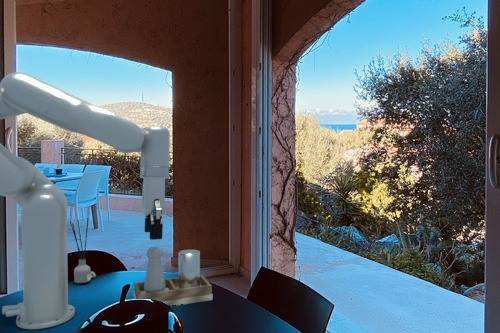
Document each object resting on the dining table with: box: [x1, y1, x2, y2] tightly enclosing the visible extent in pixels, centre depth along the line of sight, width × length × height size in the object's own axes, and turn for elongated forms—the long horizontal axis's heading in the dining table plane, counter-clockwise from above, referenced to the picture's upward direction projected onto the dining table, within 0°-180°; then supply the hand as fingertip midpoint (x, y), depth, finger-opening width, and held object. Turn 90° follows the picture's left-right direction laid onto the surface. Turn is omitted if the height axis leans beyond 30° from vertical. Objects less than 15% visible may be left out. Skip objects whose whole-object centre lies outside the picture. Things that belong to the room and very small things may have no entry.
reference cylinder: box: [177, 249, 201, 289], centre depth 106 cm, size 6×6×11 cm
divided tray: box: [132, 273, 214, 307], centre depth 104 cm, size 20×11×4 cm, turn 113°
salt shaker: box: [144, 246, 166, 293], centre depth 102 cm, size 6×6×13 cm
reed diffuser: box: [69, 218, 97, 284], centre depth 117 cm, size 10×7×20 cm
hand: (153, 235), depth 101 cm, fingers open, 9 cm apart
